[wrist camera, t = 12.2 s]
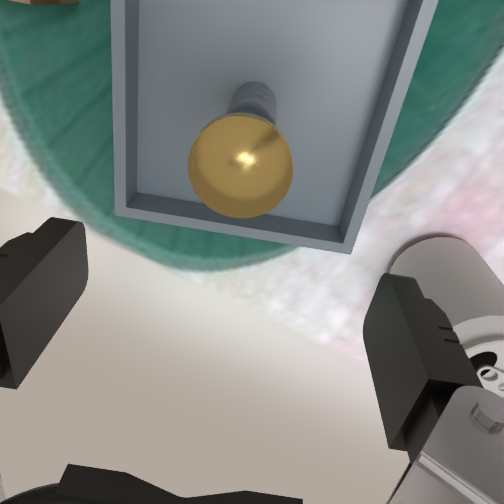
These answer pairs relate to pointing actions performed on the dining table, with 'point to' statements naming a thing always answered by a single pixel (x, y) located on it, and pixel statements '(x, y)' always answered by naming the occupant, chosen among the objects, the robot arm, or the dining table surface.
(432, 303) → the robot arm
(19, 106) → the dining table surface
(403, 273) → the can
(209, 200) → the pin
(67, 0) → the pin block
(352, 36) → the tray
